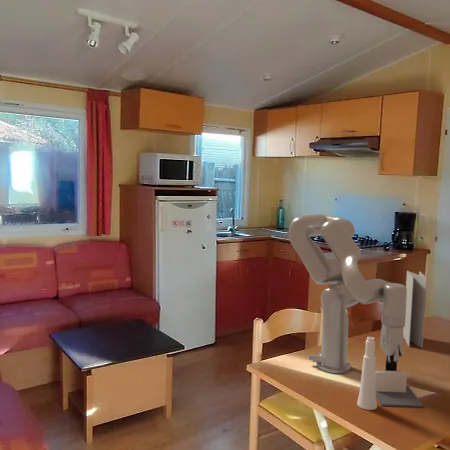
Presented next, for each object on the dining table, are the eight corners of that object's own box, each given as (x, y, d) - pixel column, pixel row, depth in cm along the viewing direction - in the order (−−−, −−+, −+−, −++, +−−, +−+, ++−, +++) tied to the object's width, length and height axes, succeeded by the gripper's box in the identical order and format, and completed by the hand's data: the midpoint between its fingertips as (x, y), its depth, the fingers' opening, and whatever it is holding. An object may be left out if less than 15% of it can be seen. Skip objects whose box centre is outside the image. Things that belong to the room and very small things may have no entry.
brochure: (422, 348, 195) (427, 278, 192) (408, 347, 196) (413, 277, 193) (415, 336, 209) (420, 271, 206) (402, 335, 210) (406, 270, 207)
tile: (375, 391, 154) (376, 372, 153) (373, 388, 156) (374, 370, 155) (405, 392, 153) (406, 373, 153) (403, 389, 155) (404, 371, 155)
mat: (381, 405, 145) (381, 404, 145) (369, 385, 159) (369, 384, 159) (423, 407, 145) (423, 405, 145) (407, 387, 159) (408, 385, 159)
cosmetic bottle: (381, 407, 145) (385, 339, 142) (368, 412, 141) (372, 342, 139) (365, 399, 150) (369, 333, 147) (353, 403, 146) (356, 336, 144)
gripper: (375, 313, 163) (373, 363, 165) (389, 327, 149) (386, 382, 150) (397, 314, 163) (394, 364, 165) (412, 327, 148) (410, 382, 150)
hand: (390, 372), depth 158 cm, fingers closed
